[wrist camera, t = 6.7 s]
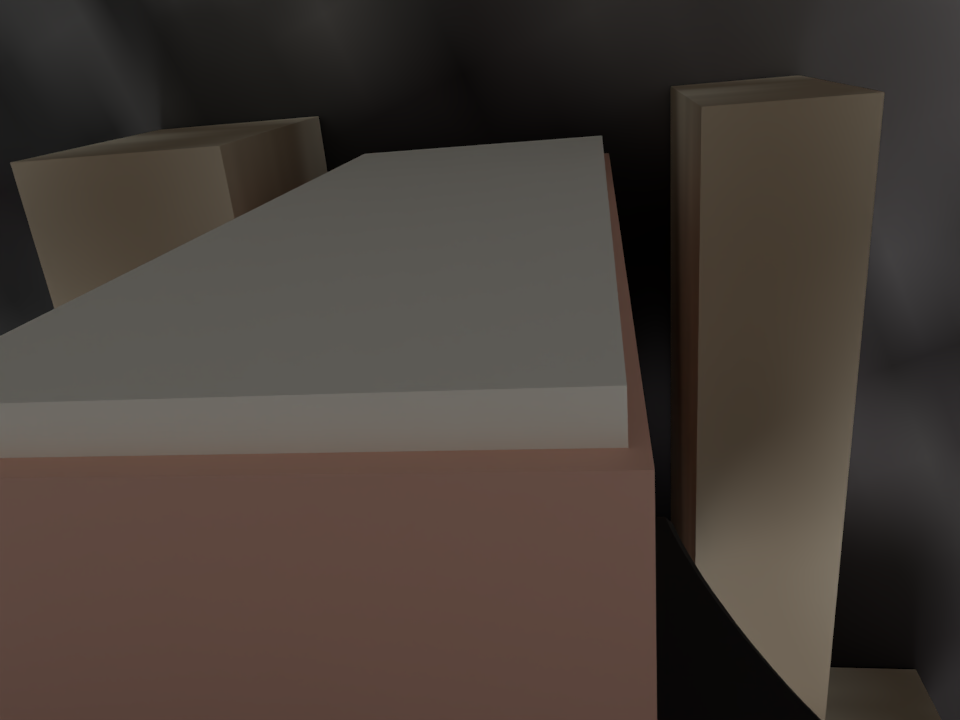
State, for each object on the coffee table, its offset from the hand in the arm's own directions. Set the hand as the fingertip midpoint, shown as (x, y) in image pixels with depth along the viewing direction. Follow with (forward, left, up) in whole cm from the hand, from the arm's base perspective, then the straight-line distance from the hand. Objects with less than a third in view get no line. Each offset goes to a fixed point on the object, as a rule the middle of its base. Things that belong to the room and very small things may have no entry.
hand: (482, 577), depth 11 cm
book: (0, 0, -4) cm, 4 cm away
